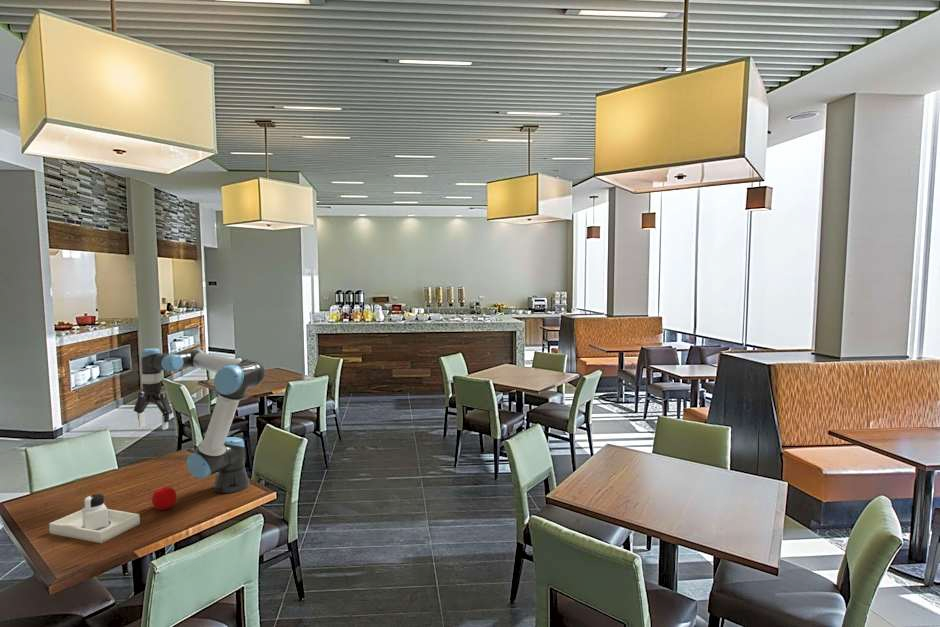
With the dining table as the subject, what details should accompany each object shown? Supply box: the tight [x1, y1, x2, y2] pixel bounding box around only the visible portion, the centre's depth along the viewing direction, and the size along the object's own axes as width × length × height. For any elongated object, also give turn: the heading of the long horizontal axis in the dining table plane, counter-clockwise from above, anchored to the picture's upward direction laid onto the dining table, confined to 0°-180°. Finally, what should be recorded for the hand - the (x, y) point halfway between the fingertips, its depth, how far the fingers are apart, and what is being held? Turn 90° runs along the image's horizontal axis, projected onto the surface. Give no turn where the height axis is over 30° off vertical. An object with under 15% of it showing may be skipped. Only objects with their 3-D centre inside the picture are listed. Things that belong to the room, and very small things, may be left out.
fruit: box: [151, 485, 177, 511], centre depth 223 cm, size 9×9×10 cm
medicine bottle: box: [81, 493, 109, 530], centre depth 204 cm, size 7×7×12 cm
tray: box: [48, 508, 141, 544], centre depth 204 cm, size 26×16×4 cm, turn 73°
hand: (153, 427), depth 242 cm, fingers open, 13 cm apart
